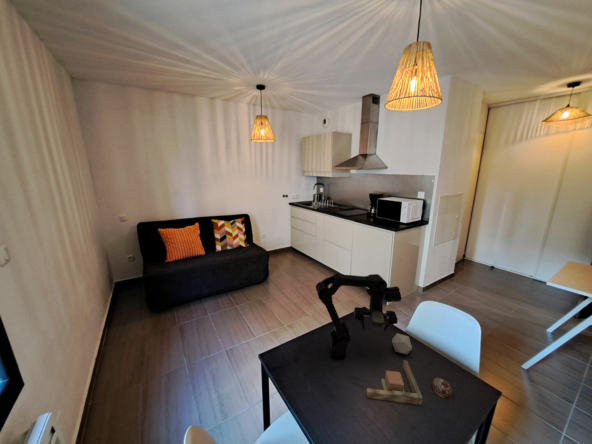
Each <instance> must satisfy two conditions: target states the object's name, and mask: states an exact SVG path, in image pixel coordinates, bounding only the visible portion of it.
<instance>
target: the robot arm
mask: <svg viewBox="0 0 592 444" xmlns="http://www.w3.org/2000/svg"><path fill="white" fill-rule="evenodd" d="M329 286H330V287H329ZM342 286H345V287H358V288H366V290H365V292H366V293H367V295H368V296H370V297H369V307H368V311H365V310H364V308H363V307H358V306H355V307H354V308H353V313H354V315H353V316H354V320H357V321H359V322H360V324H361V327H362V329H363V331H364V330H365V319H364V317H369V318H371V325H372V327H373V326H374V327H380V328H382V332H383V333H386V330H387V329H388V327H389V326H390V325H392V326H393V325H397V324H398V316H397V313H396V311H394V310H386V311H385V312H384V310H383V309H384V308H383V306H384V300H385V302H387V303H394V302H395V303H396V302H402V295H401V291H400V287H398V286H396V285H395V286H390V287H389V286H388V283H387V282H386V280H385V279H384V278H383V277H382V276H381V275H380V274H378V273H374V274H368V275H364V276H363V275H352V274H341V273H340V272H339V273H338V272H337V273H335V274H333V275H332V276H329V277H326V278H324V279H322V280H321V281H319V282H318V283H316V284H315V291H316V294H317V297H318V299H319V300H320V302H321V303H322V304H323V305H324V306H325V308H326V311H327V313H328V315H329V318H330V320H331V321H332V324H333V329H334V330H332V331H331V332H330V333H329V335H330V338H331V343H330V358H331V359H334V360H335V359H336V360H345V357H346V354H347V347H348V346H349V343H350V342H351V338H352V334H351V333H350V330H349V328H348V325H347V323H346V321H343V322H342V320H341V318H340V316H339V314H338V312H337V309H336V307H335V304H334V303H333V302H334V301H333V300H334V299H333V296H334V295H335V294H336V293H337V291H338V290H339V288H341V287H342Z"/></svg>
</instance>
